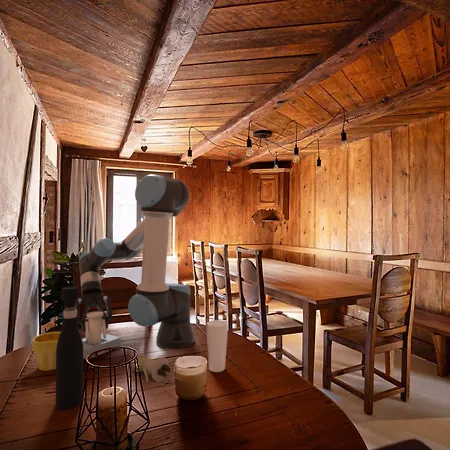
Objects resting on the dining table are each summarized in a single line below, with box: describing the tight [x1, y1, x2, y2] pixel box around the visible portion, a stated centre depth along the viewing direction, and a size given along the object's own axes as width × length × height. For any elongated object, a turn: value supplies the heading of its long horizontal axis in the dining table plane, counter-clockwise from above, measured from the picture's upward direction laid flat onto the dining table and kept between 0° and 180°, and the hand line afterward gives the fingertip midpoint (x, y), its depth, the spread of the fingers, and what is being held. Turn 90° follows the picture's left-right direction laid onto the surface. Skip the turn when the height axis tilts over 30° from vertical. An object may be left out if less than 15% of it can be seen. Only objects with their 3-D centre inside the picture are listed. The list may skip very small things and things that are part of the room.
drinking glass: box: [206, 319, 228, 373], centre depth 105 cm, size 7×7×15 cm
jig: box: [82, 332, 121, 360], centre depth 121 cm, size 11×15×4 cm
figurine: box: [130, 352, 171, 383], centre depth 100 cm, size 9×7×15 cm
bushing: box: [86, 310, 103, 346], centre depth 120 cm, size 6×6×14 cm
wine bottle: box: [55, 285, 84, 411], centre depth 84 cm, size 6×6×30 cm
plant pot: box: [31, 331, 61, 372], centre depth 106 cm, size 10×10×10 cm
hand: (96, 338), depth 117 cm, fingers open, 5 cm apart
